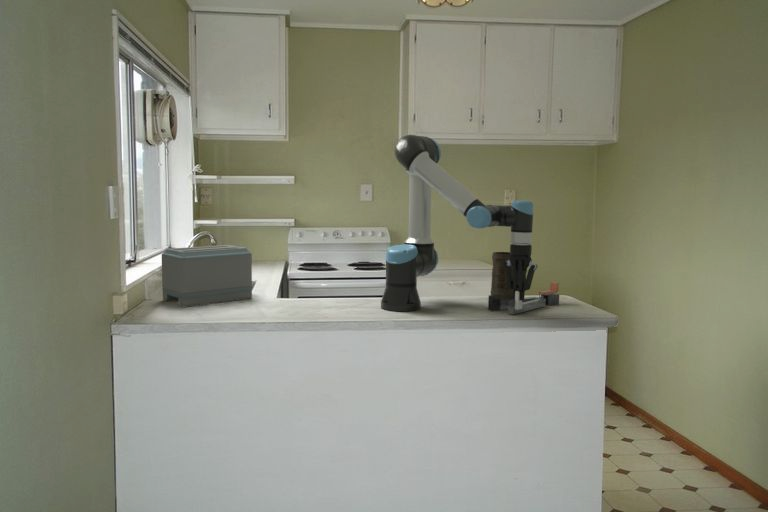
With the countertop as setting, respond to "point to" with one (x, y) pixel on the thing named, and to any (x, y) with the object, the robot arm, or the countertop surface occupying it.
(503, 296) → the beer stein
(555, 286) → the lock tab
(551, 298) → the tongs base
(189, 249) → the toaster
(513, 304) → the tong arm
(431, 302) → the countertop surface
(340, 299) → the countertop surface
